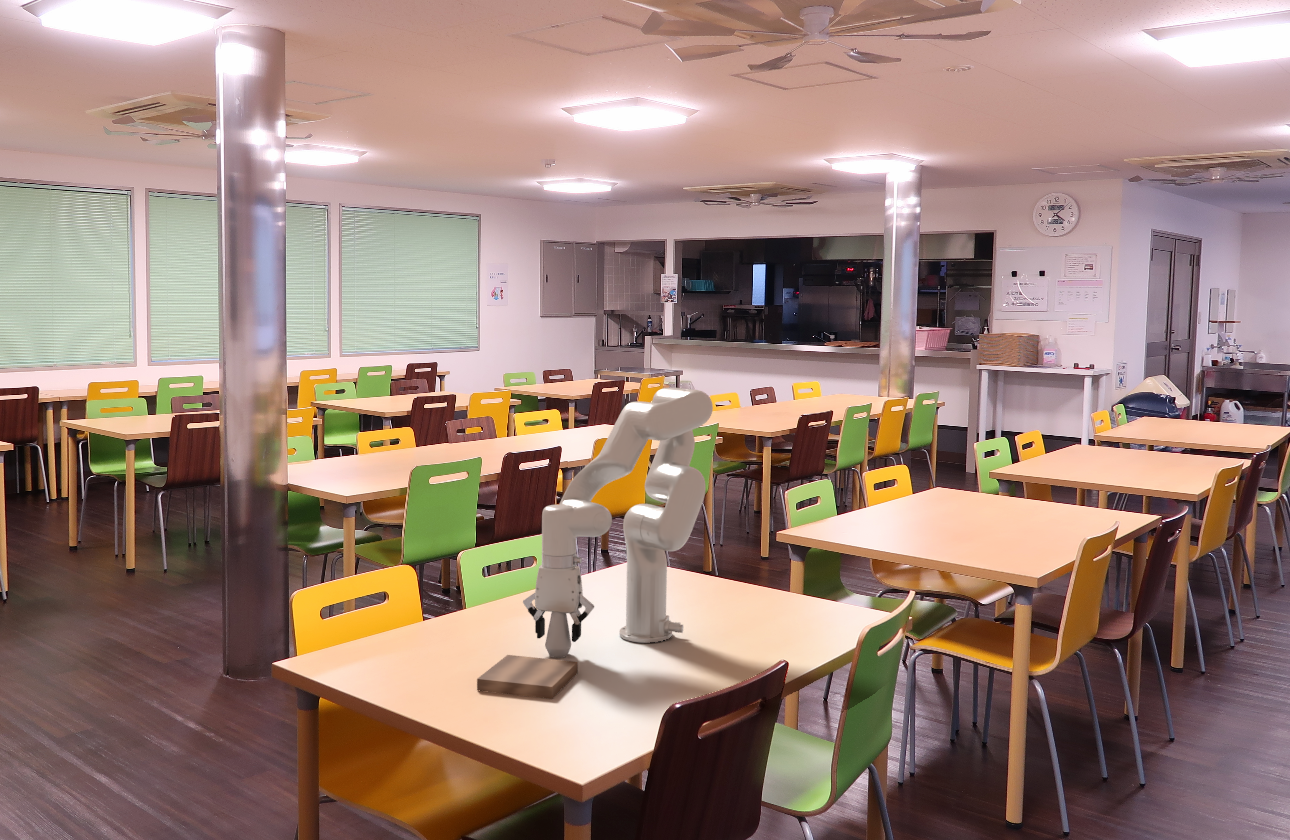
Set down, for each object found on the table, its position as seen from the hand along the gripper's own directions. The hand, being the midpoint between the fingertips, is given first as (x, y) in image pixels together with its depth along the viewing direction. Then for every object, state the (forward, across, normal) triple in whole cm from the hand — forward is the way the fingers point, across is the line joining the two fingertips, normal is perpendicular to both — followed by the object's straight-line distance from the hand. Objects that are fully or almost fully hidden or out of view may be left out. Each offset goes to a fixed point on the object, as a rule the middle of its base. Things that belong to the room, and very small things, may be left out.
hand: (558, 638), depth 232 cm
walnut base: (+4, 0, +18) cm, 19 cm away
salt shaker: (+4, 0, 0) cm, 4 cm away
